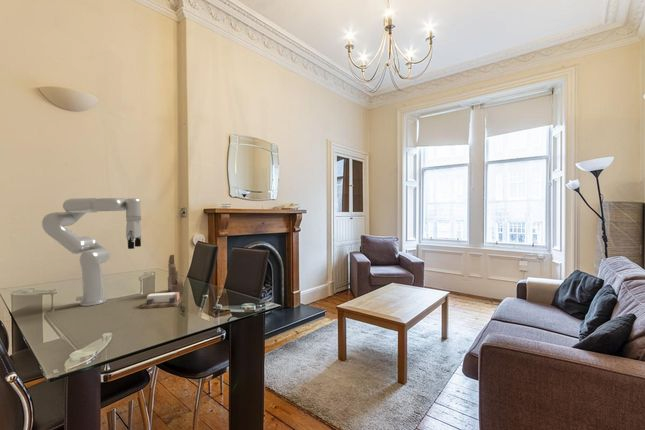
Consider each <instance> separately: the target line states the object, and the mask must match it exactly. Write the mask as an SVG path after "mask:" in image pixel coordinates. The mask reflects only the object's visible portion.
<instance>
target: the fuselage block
mask: <svg viewBox="0 0 645 430" xmlns="http://www.w3.org/2000/svg"><path fill="white" fill-rule="evenodd" d="M174 297H176V301H178V300H179V292H157V293H149V294H147V295H146V300H147V299H153V303H157V302H169V298H174Z"/></svg>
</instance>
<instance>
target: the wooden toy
mask: <svg viewBox="0 0 645 430" xmlns="http://www.w3.org/2000/svg"><path fill="white" fill-rule="evenodd" d="M167 265H168V267H167V268H168V277H167V291H168V293H171V292H179V293H180V295H182V294H184V282H183V278H182V277H180V278H179V271H178V270H177V267H176V264H175V254H170V255H169V257H168V262H167Z"/></svg>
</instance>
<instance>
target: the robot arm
mask: <svg viewBox="0 0 645 430" xmlns="http://www.w3.org/2000/svg"><path fill="white" fill-rule="evenodd" d="M141 205H142V204H141V199H140V198H119V197H105V198H103V197H99V198H95V197H91V198H90V197H88V198H87V197H85V198H84V197H83V198H68V199H66V200H64V202H63V203H62V208H63V210H64V211H62V212H61V211H60V212H58V211H57V212H51V213H48V214H46V215H45V216H44V217H43V218H42V221H41V226H42V229H43V232H44V233H46V234H47V235H48V236H50V237H51V238H52V239H53V240H55V241H56V242H57V243H59V244H60V245H61V246H62V247H63V248H65V249H66V250H67V251H69V252H70V254H71V253H72V254H73V255H74V254H75V255H77V254H80V256H79V264H80V268H81V274H82V275H81V276H82V278H81V279H82V296H76V297H75V301H77V302H79V301H80V303H79V305H80V306H83V307H87V306H97V305H99V304H103V303H105V302H107V298H106V297H104V282H103V281H104V280H103V269H102V266H101V265H100V264H103V263H106V262H107V261H108V260H110V256H111V254H110V253H111V252H110V251H109V249H107V247H105V246H103V245H102V243H100V242H99V241H97V240H96V239H95V238H93V237H90V236H78V235H77V234H76V233H74V232H73V231H72V230H70V229H68V228H65V227H69V226H72V225H74V224H75V223H77V222H79V220H80V219H81V218H82V217H83V216H84V215H85V214H86V213H87V214H88V213H89V214H90V213H97V212H125V216H126V217H125V218H126V219H125V220H126V226H125V238H126V239H127V249H128V250H133V249H135V247H137V248H139V247H141V246H142V238H141V237H142V227H141V222H142V210H141V208H142V207H141Z"/></svg>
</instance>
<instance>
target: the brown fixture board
mask: <svg viewBox="0 0 645 430" xmlns="http://www.w3.org/2000/svg"><path fill="white" fill-rule="evenodd" d="M180 295H181V294H180V293H179V300H178V301H176V297H174V298H169V302H157V303H153V299H147V298H146V302H145V303H144V304H142V306H141V308H142V310H143V309H155V308H167V307H169V308H170V307H178V305H179V304H181V302H182V301H183V300H184V296H182V295H181V296H180Z"/></svg>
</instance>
